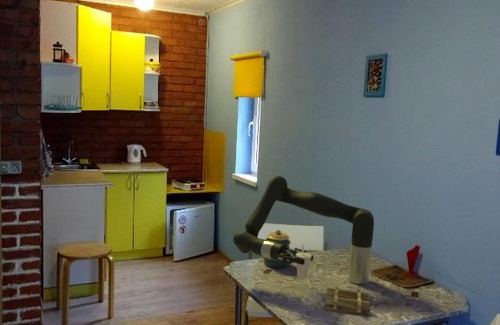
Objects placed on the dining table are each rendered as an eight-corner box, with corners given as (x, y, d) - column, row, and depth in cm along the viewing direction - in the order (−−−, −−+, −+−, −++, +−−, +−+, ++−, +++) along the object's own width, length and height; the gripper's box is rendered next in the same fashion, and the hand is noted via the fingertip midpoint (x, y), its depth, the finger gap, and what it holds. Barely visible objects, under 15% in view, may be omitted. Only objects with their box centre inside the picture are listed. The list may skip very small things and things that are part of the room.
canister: (290, 269, 234) (292, 234, 232) (263, 267, 234) (265, 232, 232) (288, 260, 247) (290, 227, 244) (263, 259, 247) (265, 225, 245)
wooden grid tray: (326, 293, 205) (327, 284, 205) (367, 299, 202) (368, 290, 202) (324, 310, 189) (325, 300, 188) (369, 316, 186) (370, 306, 185)
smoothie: (299, 273, 201) (302, 241, 199) (313, 277, 197) (315, 244, 195) (291, 277, 196) (293, 244, 194) (304, 281, 192) (306, 247, 190)
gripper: (264, 245, 197) (300, 255, 188) (283, 238, 209) (317, 247, 199) (263, 263, 198) (298, 273, 188) (282, 255, 210) (316, 264, 200)
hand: (308, 260), depth 194 cm, fingers closed on smoothie, 6 cm apart
